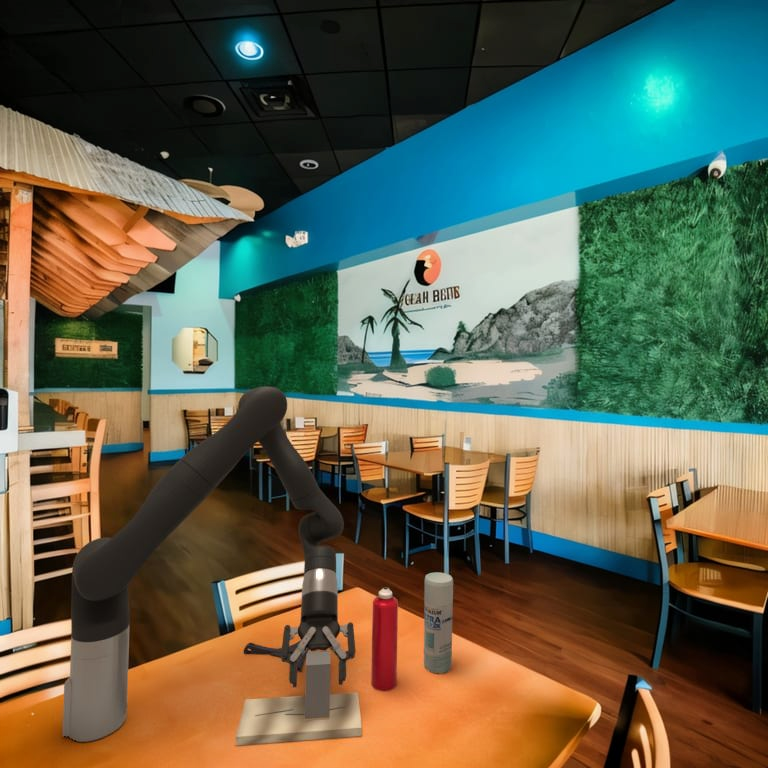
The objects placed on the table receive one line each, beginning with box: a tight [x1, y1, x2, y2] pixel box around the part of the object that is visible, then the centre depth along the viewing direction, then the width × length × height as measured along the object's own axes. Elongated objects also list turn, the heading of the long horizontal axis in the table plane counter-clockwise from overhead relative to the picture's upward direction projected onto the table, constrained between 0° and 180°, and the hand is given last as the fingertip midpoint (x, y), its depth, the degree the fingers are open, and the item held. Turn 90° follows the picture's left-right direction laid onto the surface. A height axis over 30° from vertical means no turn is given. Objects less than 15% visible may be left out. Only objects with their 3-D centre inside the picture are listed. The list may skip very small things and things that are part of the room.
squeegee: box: [243, 639, 309, 673], centre depth 110 cm, size 14×15×3 cm
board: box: [235, 691, 363, 747], centre depth 87 cm, size 22×10×2 cm, turn 97°
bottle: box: [370, 586, 399, 692], centre depth 100 cm, size 6×5×20 cm
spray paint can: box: [423, 571, 454, 674], centre depth 106 cm, size 6×6×20 cm
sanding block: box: [304, 650, 331, 721], centre depth 88 cm, size 5×5×10 cm
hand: (317, 685), depth 87 cm, fingers open, 8 cm apart
